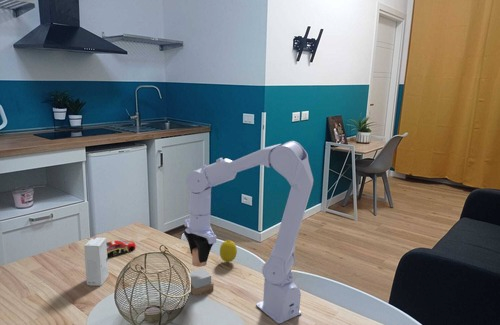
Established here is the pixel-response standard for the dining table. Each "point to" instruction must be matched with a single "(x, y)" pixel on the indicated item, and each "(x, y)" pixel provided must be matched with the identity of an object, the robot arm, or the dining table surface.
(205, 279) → the grey slab
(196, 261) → the copper rounded cylinder
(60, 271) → the dining table surface
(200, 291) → the walnut slab
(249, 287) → the dining table surface
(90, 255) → the skincare box
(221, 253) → the lemon
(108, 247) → the race car
